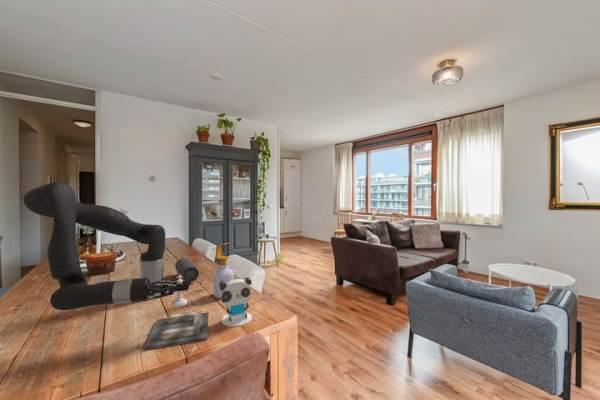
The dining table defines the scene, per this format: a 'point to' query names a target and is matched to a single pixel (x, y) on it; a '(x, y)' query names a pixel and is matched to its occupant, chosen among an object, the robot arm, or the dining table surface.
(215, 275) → the soap bottle
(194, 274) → the bluetooth speaker
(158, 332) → the u rest
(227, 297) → the panda figurine
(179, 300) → the chess piece
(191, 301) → the dining table surface
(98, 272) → the food container
